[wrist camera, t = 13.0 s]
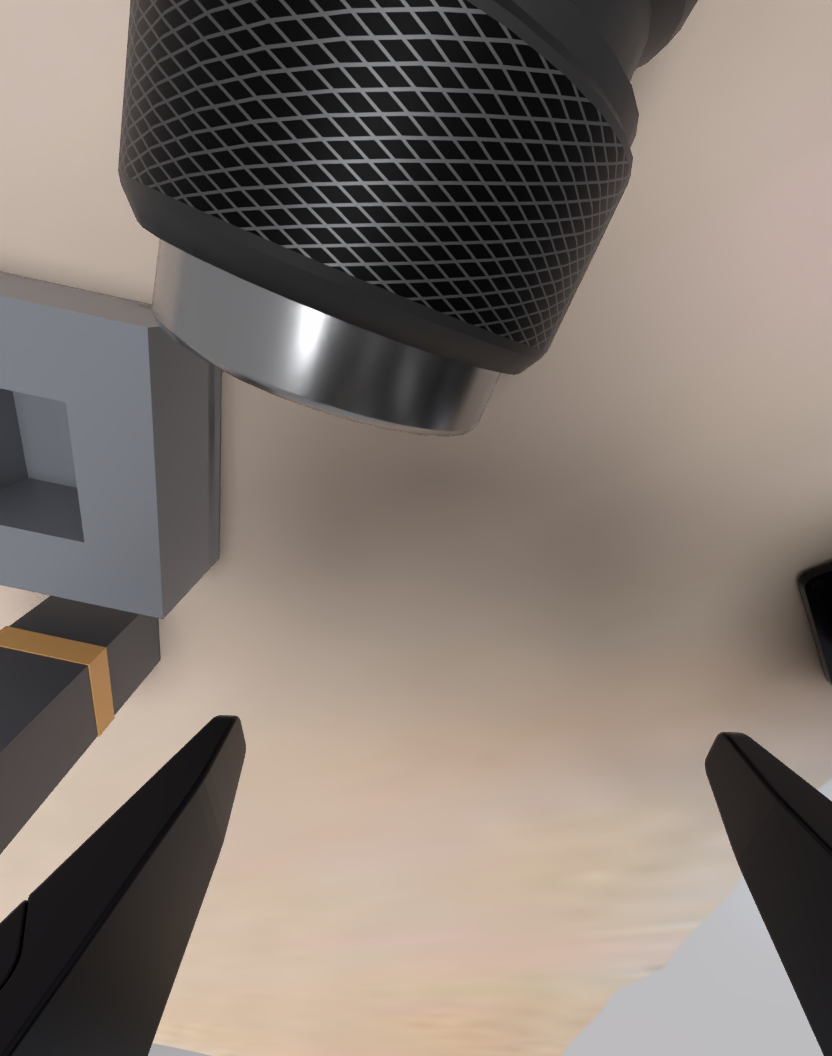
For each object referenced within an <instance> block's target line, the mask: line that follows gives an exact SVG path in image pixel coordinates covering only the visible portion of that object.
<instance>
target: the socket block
mask: <svg viewBox="0 0 832 1056" xmlns="http://www.w3.org/2000/svg"><path fill="white" fill-rule="evenodd" d="M220 424H221V370H220V369H219V368H217V367H215V366H213V365H211V364H209V363H208V362H206V361H204V360H203V359H201V358H200V357H198V356H196V355H195V354H193V353H192V352H190V351H189V350H187V349H186V348H184V347H182V346H181V345H179V344H178V343H177V342H176V341H175V340H173V339H172V338H171V337H170V336H169V335H168V334H166V333H165V332H164V331H163V330H162V329H161V327H160V326H159V324H158V323H157V321H156V320H155V318H154V315H153V312H152V305H150V304H146V303H141V302H136V301H132V300H127V299H123V298H118V297H113V296H109V295H104V294H100V293H95V292H91V291H86V290H81V289H77V288H72V287H68V286H63V285H58V284H54V283H49V282H45V281H40V280H35V279H31V278H26V277H22V276H17V275H13V274H8V273H3V272H0V585H3V586H8V587H13V588H18V589H23V590H27V591H32V592H37V593H42V594H46V595H51V596H56V597H61V598H65V599H70V600H75V601H80V602H84V603H89V604H94V605H99V606H104V607H108V608H113V609H118V610H123V611H127V612H132V613H137V614H142V615H146V616H151V617H156V618H161V619H164V618H165V617H166V615H167V614H168V613H169V612H170V611H171V610H172V609H173V608H174V607H175V606H176V605H177V603H178V602H179V601H180V600H181V599H182V598H183V597H184V596H185V595H186V594H187V593H188V591H189V590H190V589H191V588H192V587H193V586H194V585H195V584H196V583H197V582H198V581H199V579H200V578H201V577H202V576H203V575H204V574H205V573H206V572H207V571H208V570H209V569H210V567H211V566H212V565H213V564H214V563H215V562H216V561H217V560H218V559H219V515H220Z"/></svg>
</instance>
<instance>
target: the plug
mask: <svg viewBox="0 0 832 1056" xmlns="http://www.w3.org/2000/svg"><path fill="white" fill-rule="evenodd" d="M159 661H160V644H159V625H158V618H156V617H151V616H146V615H142V614H137V613H132V612H127V611H123V610H118V609H113V608H108V607H104V606H99V605H94V604H89V603H84V602H80V601H75V600H70V599H65V598H61V597H56V596H50V597H48V598H47V599H46V600H44V601H43V602H42V603H40V604H39V605H38V606H36V607H35V608H33V609H32V610H31V611H29V612H28V613H27V614H25V615H24V616H23V617H21V618H20V619H18V620H17V621H16V622H14V623H13V624H12V625H10V626H6V627H4V628H3V629H2V630H0V854H1V853H2V852H3V850H4V849H5V848H6V847H7V846H8V844H9V843H10V842H11V841H12V839H13V838H14V837H15V836H16V835H17V833H18V832H19V831H20V830H21V828H22V827H23V826H24V825H25V824H26V822H27V821H28V820H29V819H30V818H31V816H32V815H33V814H34V813H35V811H36V810H37V809H38V808H39V807H40V805H41V804H42V803H43V802H44V801H45V799H46V798H47V797H48V796H49V794H50V793H51V792H52V791H53V790H54V788H55V787H56V786H57V785H58V784H59V782H60V781H61V780H62V779H63V777H64V776H65V775H66V774H67V773H68V771H69V770H70V769H71V768H72V767H73V765H74V764H75V763H76V762H77V760H78V759H79V758H80V757H81V756H82V754H83V753H84V752H85V751H86V750H87V748H88V747H89V746H90V745H91V743H92V742H93V741H94V740H95V739H96V737H97V736H100V735H101V734H102V733H103V731H104V730H105V729H106V728H107V727H108V725H109V724H110V723H111V722H112V720H113V719H114V718H115V717H114V715H115V714H116V713H117V712H118V711H119V709H120V708H121V707H122V706H123V705H124V703H125V702H126V701H127V700H128V698H129V697H130V696H131V695H132V694H133V692H134V691H135V690H136V689H137V688H138V686H139V685H140V684H141V683H142V681H143V680H144V679H145V678H146V677H147V675H148V674H149V673H150V672H151V671H152V669H153V668H154V667H155V666H156V664H157V663H158V662H159Z"/></svg>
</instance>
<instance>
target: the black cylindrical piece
mask: <svg viewBox="0 0 832 1056" xmlns="http://www.w3.org/2000/svg"><path fill="white" fill-rule="evenodd" d="M697 1H698V0H131V3H130V17H129V30H128V44H127V57H126V71H125V84H124V98H123V112H122V125H121V139H120V152H119V166H118V172H119V177H120V182H121V185H122V187H123V190H124V192H125V194H126V196H127V199H128V201H129V203H130V206H131V208H132V210H133V212H134V215H135V217H136V219H137V221H138V222H139V223H140V225H141V226H142V227H143V228H145V229H146V230H148V231H149V232H151V233H152V234H154V235H155V236H157V237H158V238H160V241H159V250H158V258H157V267H156V276H155V285H154V294H153V303H152V312H153V315H154V318H155V320H156V321H157V323H158V324H159V326H160V327H161V329H162V330H163V331H164V332H165V333H166V334H168V335H169V336H170V337H171V338H172V339H173V340H175V341H176V342H177V343H178V344H179V345H181V346H182V347H184V348H186V349H187V350H189V351H190V352H192V353H193V354H195V355H196V356H198V357H200V358H201V359H203V360H204V361H206V362H208V363H209V364H211V365H213V366H215V367H217V368H219V369H220V370H222V371H224V372H226V373H228V374H230V375H232V376H234V377H236V378H238V379H240V380H242V381H244V382H246V383H248V384H251V385H253V386H255V387H258V388H260V389H262V390H264V391H267V392H269V393H271V394H274V395H276V396H278V397H281V398H284V399H287V400H289V401H292V402H295V403H298V404H300V405H303V406H306V407H309V408H311V409H314V410H317V411H320V412H324V413H327V414H330V415H334V416H337V417H341V418H344V419H347V420H351V421H354V422H358V423H362V424H367V425H371V426H375V427H379V428H384V429H388V430H394V431H400V432H406V433H413V434H419V435H434V436H454V435H462V434H465V433H467V432H469V431H471V430H472V429H473V428H475V427H476V426H477V424H478V422H479V420H480V418H481V415H482V413H483V411H484V409H485V407H486V404H487V402H488V400H489V398H490V395H491V393H492V391H493V389H494V386H495V384H496V382H497V380H498V378H499V375H500V373H506V374H513V375H515V374H519V373H521V372H522V371H524V370H525V369H526V368H528V367H529V366H531V365H532V364H533V363H535V362H536V361H538V360H539V359H540V358H542V356H543V355H544V354H545V353H546V352H547V351H548V348H549V346H550V344H551V342H552V340H553V338H554V336H555V334H556V332H557V330H558V328H559V326H560V324H561V322H562V319H563V317H564V315H565V313H566V311H567V309H568V307H569V305H570V303H571V301H572V299H573V297H574V295H575V293H576V290H577V288H578V286H579V284H580V282H581V280H582V278H583V276H584V274H585V272H586V270H587V268H588V266H589V263H590V261H591V259H592V257H593V255H594V253H595V251H596V249H597V247H598V245H599V243H600V241H601V239H602V237H603V234H604V232H605V230H606V228H607V226H608V224H609V222H610V220H611V218H612V216H613V214H614V212H615V210H616V208H617V205H618V203H619V201H620V199H621V197H622V195H623V193H624V191H625V189H626V187H627V185H628V182H629V178H630V175H631V168H632V161H633V156H632V153H631V150H630V147H631V145H632V143H633V140H634V138H635V136H636V130H637V123H638V116H639V113H638V109H637V105H636V101H635V97H634V93H633V89H632V85H631V83H630V80H631V78H632V75H633V73H634V71H635V69H636V68H638V67H640V66H642V65H644V64H646V63H648V62H649V61H650V60H651V59H652V58H653V57H654V56H655V55H656V54H657V53H658V52H659V51H661V50H662V49H663V48H664V47H665V46H666V45H667V44H668V43H669V42H670V40H671V39H672V38H673V37H674V36H675V35H676V34H677V33H678V31H679V30H680V29H681V27H682V26H683V24H684V22H685V21H686V19H687V17H688V16H689V14H690V12H691V11H692V9H693V7H694V6H695V4H696V2H697Z"/></svg>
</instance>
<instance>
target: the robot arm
mask: <svg viewBox="0 0 832 1056" xmlns="http://www.w3.org/2000/svg"><path fill="white" fill-rule="evenodd" d="M817 580H819V581H818V582H817V583H816V584H814V585H812V584H813V583H814V582H815V581H817ZM798 585H799V588H800V592H801V595H802V599H803V602H804V606H805V609H806V612H807V616H808V619H809V623H810V626H811V629H812V633H813V636H814V640H815V643H816V647H817V650H818V653H819V657H820V660H821V664H822V667H823V670H824V674H825V677H826V679H827V681H828V682H829V683H830V684H831V685H832V563H829V564H826V565H824V566H821V567H818V568H815V569H812V570H810V571H808V572H806V573H804V574H803V575H802V576H801V577H800V579H799V581H798ZM245 752H246V744H245V739H244V734H243V730H242V725H241V721H240V719H239V717H237V716H230V715H219V716H216V717H214V718H213V719H212V720H211V721H210V722H209V723H208V724H207V725H206V726H204V727H203V728H202V729H201V730H200V731H199V732H198V733H197V734H196V735H195V736H194V737H193V738H192V739H191V740H190V741H189V742H188V743H187V744H186V745H185V746H184V747H183V748H182V749H181V750H180V751H179V752H178V753H176V754H175V755H174V756H173V757H172V758H171V759H170V760H169V761H168V762H167V763H166V764H165V765H164V766H163V767H162V768H161V769H160V770H159V771H158V772H157V773H156V774H155V775H154V776H153V777H152V778H151V779H150V780H148V781H147V782H146V783H145V784H144V785H143V786H142V787H141V788H140V789H139V790H138V791H137V792H136V793H135V794H134V795H133V796H132V797H131V798H130V799H129V800H128V801H127V802H126V803H125V804H124V805H123V806H121V807H120V808H119V809H118V810H117V811H116V812H115V813H114V814H113V815H112V816H111V817H110V818H109V819H108V820H107V821H106V822H105V823H104V824H103V825H102V826H101V827H100V828H99V829H98V830H97V831H96V832H95V833H93V834H92V835H91V836H90V837H89V838H88V839H87V840H86V841H85V842H84V843H83V844H82V845H81V846H80V847H79V848H78V849H77V850H76V851H75V852H74V853H73V854H72V855H71V856H70V857H69V858H68V859H66V860H65V861H64V862H63V863H62V864H61V865H60V866H59V867H58V868H57V869H56V870H55V871H54V872H53V873H52V874H51V875H50V876H49V877H48V878H47V879H46V880H45V881H44V882H43V883H42V884H41V885H40V886H38V887H37V888H36V889H35V890H34V891H33V892H32V893H31V894H30V895H29V898H28V901H27V900H25V901H23V902H22V903H21V904H20V905H19V906H17V907H16V908H15V909H14V910H13V911H12V912H11V913H10V914H9V915H8V916H7V917H6V918H5V919H4V920H3V921H2V922H1V923H0V1056H148V1054H149V1051H150V1048H151V1045H152V1042H153V1040H154V1037H155V1034H156V1031H157V1028H158V1025H159V1023H160V1020H161V1017H162V1014H163V1011H164V1009H165V1006H166V1003H167V1000H168V997H169V995H170V992H171V989H172V986H173V983H174V981H175V978H176V975H177V972H178V969H179V967H180V964H181V961H182V958H183V955H184V953H185V950H186V947H187V944H188V941H189V938H190V936H191V933H192V930H193V927H194V924H195V922H196V919H197V916H198V913H199V910H200V908H201V905H202V902H203V899H204V896H205V894H206V891H207V888H208V885H209V882H210V880H211V877H212V874H213V871H214V868H215V866H216V863H217V860H218V857H219V854H220V851H221V848H222V845H223V842H224V838H225V834H226V830H227V827H228V822H229V818H230V814H231V810H232V806H233V802H234V798H235V794H236V790H237V786H238V782H239V778H240V774H241V770H242V766H243V762H244V758H245ZM705 769H706V774H707V777H708V780H709V782H710V785H711V788H712V791H713V794H714V797H715V800H716V803H717V806H718V809H719V812H720V815H721V817H722V820H723V823H724V826H725V829H726V832H727V835H728V838H729V841H730V844H731V846H732V849H733V852H734V854H735V857H736V860H737V862H738V865H739V867H740V869H741V872H742V874H743V876H744V879H745V881H746V883H747V885H748V888H749V890H750V892H751V894H752V896H753V899H754V901H755V903H756V905H757V908H758V910H759V912H760V914H761V917H762V919H763V921H764V923H765V925H766V927H767V930H768V932H769V934H770V936H771V939H772V941H773V943H774V946H775V948H776V950H777V952H778V954H779V957H780V959H781V961H782V963H783V966H784V968H785V970H786V972H787V975H788V977H789V979H790V981H791V983H792V986H793V988H794V990H795V992H796V994H797V997H798V999H799V1001H800V1004H801V1006H802V1008H803V1010H804V1012H805V1015H806V1017H807V1019H808V1021H809V1024H810V1026H811V1028H812V1030H813V1032H814V1035H815V1037H816V1039H817V1041H818V1044H819V1046H820V1048H821V1050H822V1053H823V1055H824V1056H832V801H830V800H829V799H828V798H827V797H825V796H824V795H823V794H822V793H820V792H819V791H818V790H816V789H815V788H814V787H813V786H811V785H810V784H809V783H808V782H806V781H805V780H804V779H802V778H801V777H800V776H799V775H797V774H796V773H795V772H794V771H792V770H791V769H790V768H788V767H787V766H786V765H785V764H783V763H782V762H781V761H780V760H778V759H777V758H776V757H774V756H773V755H772V754H771V753H769V752H768V751H767V750H766V749H764V748H763V747H762V746H760V745H759V744H758V743H757V742H755V741H754V740H753V739H752V738H750V737H749V736H747V735H745V734H743V733H737V732H721V733H720V734H718V735H717V737H716V739H715V741H714V743H713V745H712V747H711V749H710V751H709V753H708V755H707V757H706V760H705Z"/></svg>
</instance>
